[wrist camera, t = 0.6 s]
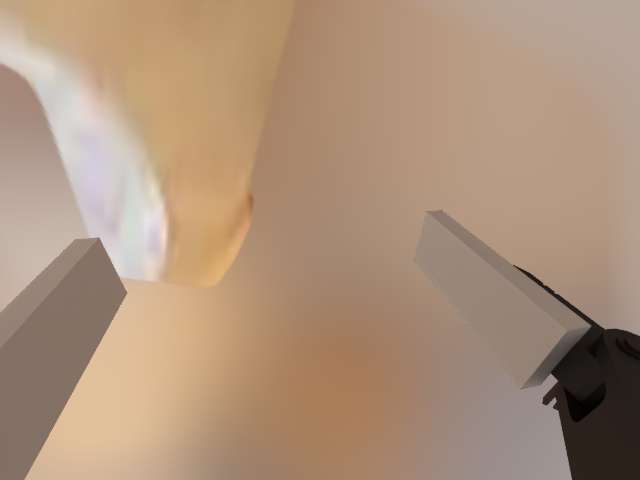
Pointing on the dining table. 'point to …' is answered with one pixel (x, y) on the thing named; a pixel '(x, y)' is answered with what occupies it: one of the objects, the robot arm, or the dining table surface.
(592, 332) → the robot arm
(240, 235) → the dining table surface
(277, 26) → the dining table surface
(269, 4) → the dining table surface
